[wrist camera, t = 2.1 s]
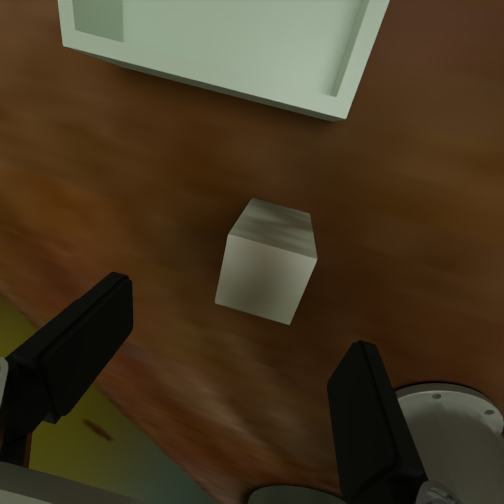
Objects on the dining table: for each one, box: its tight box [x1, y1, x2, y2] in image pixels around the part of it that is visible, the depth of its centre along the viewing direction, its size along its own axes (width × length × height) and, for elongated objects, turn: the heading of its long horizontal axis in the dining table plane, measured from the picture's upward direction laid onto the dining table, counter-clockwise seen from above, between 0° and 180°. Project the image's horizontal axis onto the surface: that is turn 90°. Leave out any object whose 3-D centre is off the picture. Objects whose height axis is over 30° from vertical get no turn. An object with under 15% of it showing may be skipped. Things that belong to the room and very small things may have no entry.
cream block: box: [215, 198, 317, 325], centre depth 18 cm, size 5×5×8 cm
